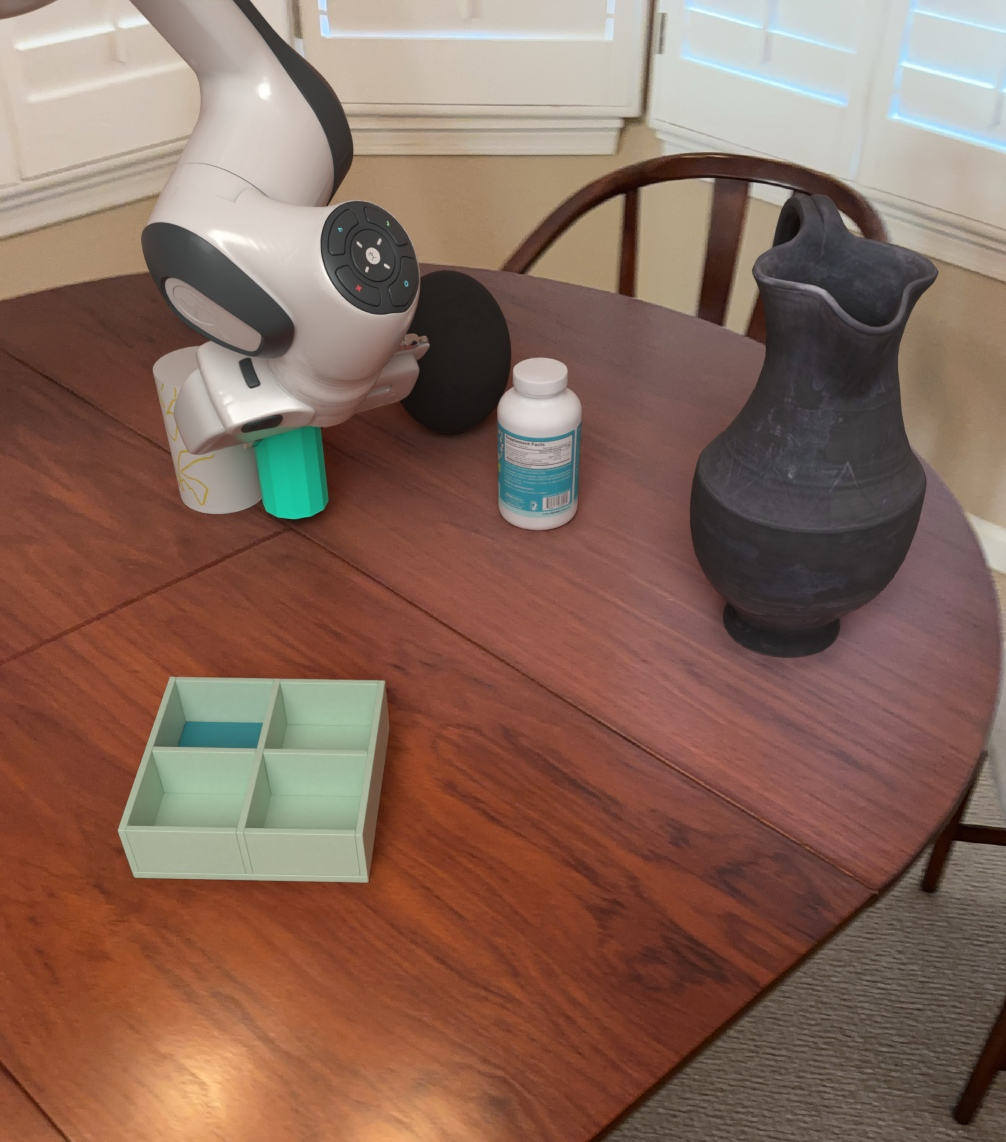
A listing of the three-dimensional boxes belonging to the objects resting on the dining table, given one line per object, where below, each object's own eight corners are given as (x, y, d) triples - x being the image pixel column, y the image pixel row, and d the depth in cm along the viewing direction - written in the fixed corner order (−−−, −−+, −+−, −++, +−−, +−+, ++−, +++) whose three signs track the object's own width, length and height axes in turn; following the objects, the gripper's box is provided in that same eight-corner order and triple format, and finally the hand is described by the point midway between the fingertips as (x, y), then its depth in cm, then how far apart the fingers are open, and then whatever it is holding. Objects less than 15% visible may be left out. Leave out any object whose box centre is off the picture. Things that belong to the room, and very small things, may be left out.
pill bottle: (522, 484, 114) (524, 342, 104) (590, 504, 111) (599, 361, 101) (482, 520, 109) (481, 376, 99) (553, 542, 107) (558, 397, 97)
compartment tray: (133, 878, 80) (117, 830, 76) (182, 724, 90) (169, 676, 87) (368, 883, 79) (362, 835, 76) (389, 728, 90) (385, 680, 86)
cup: (162, 496, 112) (133, 370, 103) (222, 460, 117) (199, 337, 108) (225, 523, 109) (200, 396, 100) (284, 485, 113) (265, 360, 104)
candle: (286, 479, 111) (268, 349, 102) (341, 494, 109) (327, 363, 100) (249, 509, 107) (227, 377, 98) (305, 525, 105) (289, 392, 96)
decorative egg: (520, 404, 124) (522, 252, 113) (499, 463, 116) (499, 305, 105) (405, 394, 126) (396, 243, 115) (377, 452, 118) (364, 295, 106)
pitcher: (705, 698, 92) (770, 299, 70) (643, 552, 106) (681, 179, 84) (916, 676, 94) (1045, 281, 72) (828, 535, 108) (914, 166, 85)
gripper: (421, 293, 94) (374, 367, 107) (176, 350, 87) (157, 422, 99) (450, 371, 95) (400, 435, 107) (210, 434, 87) (187, 495, 100)
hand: (282, 430), depth 103 cm, fingers closed on candle, 5 cm apart
